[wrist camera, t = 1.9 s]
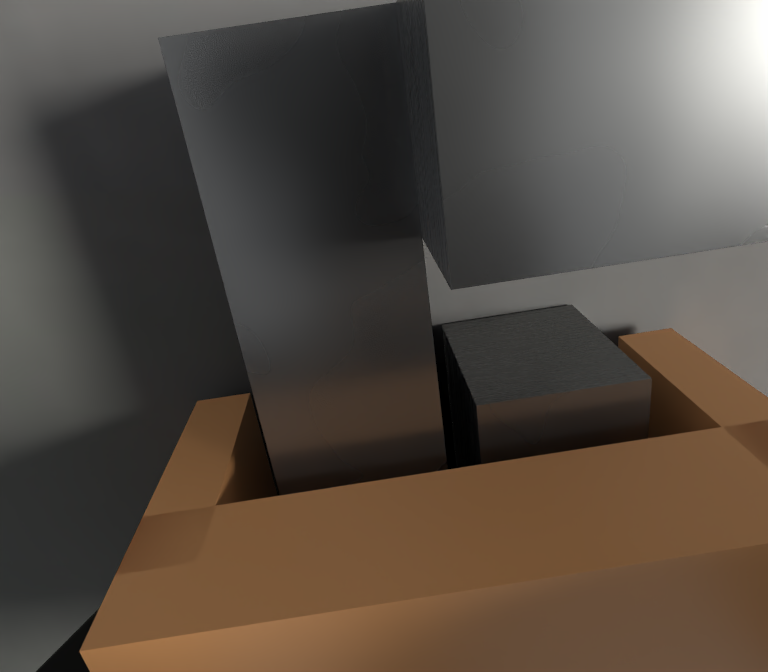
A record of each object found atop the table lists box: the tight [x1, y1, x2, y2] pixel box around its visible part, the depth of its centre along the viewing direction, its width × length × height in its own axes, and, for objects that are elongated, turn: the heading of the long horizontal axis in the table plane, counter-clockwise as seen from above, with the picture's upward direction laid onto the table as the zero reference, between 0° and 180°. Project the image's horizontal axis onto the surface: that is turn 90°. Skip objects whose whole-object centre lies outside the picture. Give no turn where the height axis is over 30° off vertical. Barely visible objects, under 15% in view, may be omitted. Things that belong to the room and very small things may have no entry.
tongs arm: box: [158, 0, 768, 495], centre depth 7 cm, size 12×4×4 cm, turn 8°
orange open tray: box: [79, 328, 768, 672], centre depth 7 cm, size 4×7×4 cm, turn 98°
